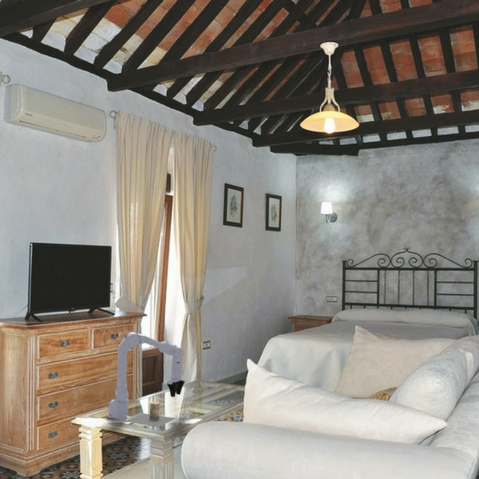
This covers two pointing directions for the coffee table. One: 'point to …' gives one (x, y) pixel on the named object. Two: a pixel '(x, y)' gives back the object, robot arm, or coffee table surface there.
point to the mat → (150, 420)
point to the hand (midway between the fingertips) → (175, 395)
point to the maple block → (154, 409)
